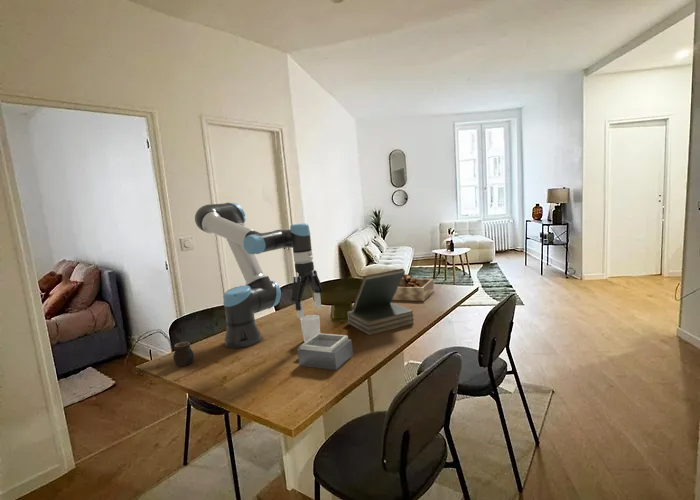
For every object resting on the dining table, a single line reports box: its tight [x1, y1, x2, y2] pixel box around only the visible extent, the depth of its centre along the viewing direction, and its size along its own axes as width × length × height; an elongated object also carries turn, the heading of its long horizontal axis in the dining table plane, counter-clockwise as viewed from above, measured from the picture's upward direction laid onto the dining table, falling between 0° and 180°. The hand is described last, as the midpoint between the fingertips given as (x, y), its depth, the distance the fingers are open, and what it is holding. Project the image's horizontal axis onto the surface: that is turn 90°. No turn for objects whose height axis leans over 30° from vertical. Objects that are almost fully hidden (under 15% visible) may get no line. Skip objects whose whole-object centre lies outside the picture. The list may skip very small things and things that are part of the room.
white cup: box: [299, 314, 321, 343], centre depth 163 cm, size 8×8×10 cm
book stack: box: [346, 268, 415, 336], centre depth 176 cm, size 23×20×25 cm
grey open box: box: [297, 332, 354, 371], centre depth 143 cm, size 19×13×8 cm
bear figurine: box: [402, 272, 420, 287], centre depth 222 cm, size 14×15×12 cm
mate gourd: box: [173, 339, 195, 367], centre depth 151 cm, size 7×8×10 cm
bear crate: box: [392, 278, 435, 302], centre depth 221 cm, size 21×21×7 cm
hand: (309, 312), depth 162 cm, fingers open, 13 cm apart
